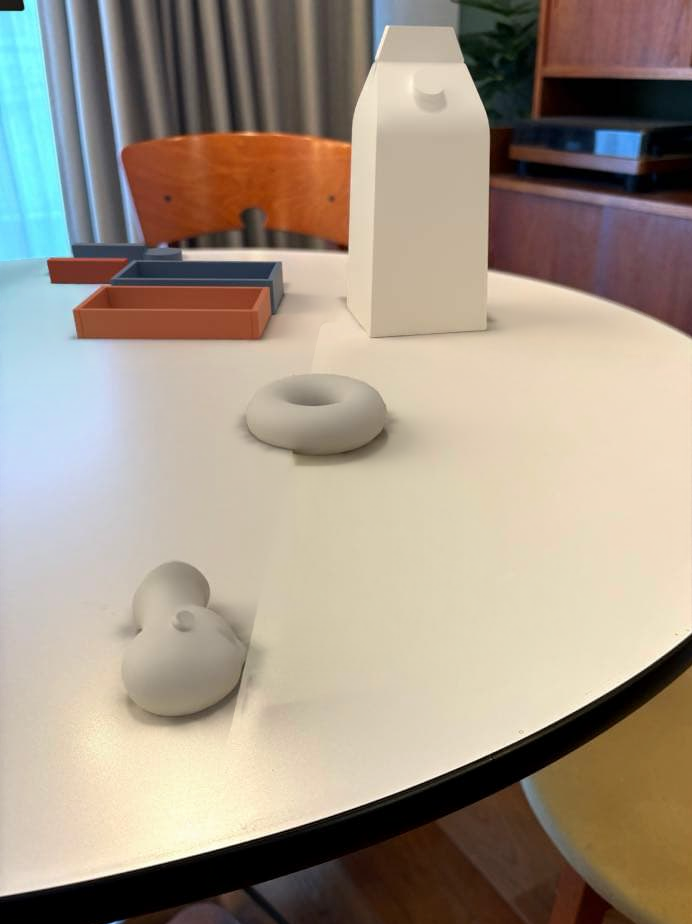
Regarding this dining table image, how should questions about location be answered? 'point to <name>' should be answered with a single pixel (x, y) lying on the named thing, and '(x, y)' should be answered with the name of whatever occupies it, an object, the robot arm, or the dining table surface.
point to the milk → (419, 190)
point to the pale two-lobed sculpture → (179, 645)
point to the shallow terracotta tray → (84, 269)
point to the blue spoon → (125, 251)
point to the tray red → (173, 312)
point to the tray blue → (205, 275)
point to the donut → (316, 413)
